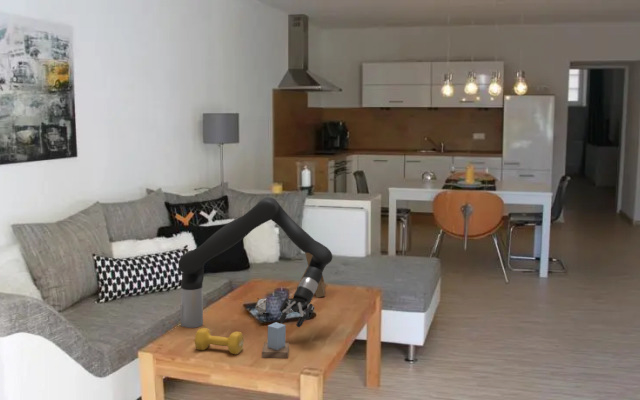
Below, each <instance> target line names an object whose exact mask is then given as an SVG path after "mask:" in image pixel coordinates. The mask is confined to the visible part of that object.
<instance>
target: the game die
mask: <svg viewBox="0 0 640 400" xmlns="http://www.w3.org/2000/svg"><path fill="white" fill-rule="evenodd" d="M266 299H267V298H259V297H257V302H256V304H255V306H253V308H254V309H255V310H256V311H257V313H258V315H259V314H260V315H264V314H263V313H265V312H266Z"/></svg>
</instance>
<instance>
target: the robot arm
mask: <svg viewBox="0 0 640 400" xmlns="http://www.w3.org/2000/svg"><path fill="white" fill-rule="evenodd" d="M269 221H272V222H273V223H275V224H276V225H277V226H278V227H279V228H280V229H281V230H282V231H283V232H284V234H285V235H286V236H287V237H288V239H289V240H290V241H291V242H292V243H293V244H294V245H295V246H296V247H298V249H299V250H301V251H302V252H303V253H310V254H312V255H313V257H312V259H311V261H310V264H309V267H308V266H307V267H308V269H307V268H306V269H307V271H306V270H305V271H306V273H305V272H304V273H305V275H304V277H303V279H302V280H301V279H300V280H301V282H300V281H299V282H300V284H299V283H298V284H299V286H298V288H297V287H296V290H295V292H294V293H293V297H292V299H289V298H285V299H284V300H283V302H282V304H281V306H280V308H279V311H280V312H281V314H280V317H279V320H278V321H279V322H280V324H284V322H285V321H286V319H287V316H288V315H289V314H292V313H298V314H299V316H300V317H299V318H298V319H297V321H296V324H295V325H296V327H297V328H301V327H302V326H303V325H304V324H303V323H304V321H306V320H310V319H311V316H312V315H313V312H314V310H315V306H314V305H313V304H312V303H311V302H312V300H313V298H314V295H315V292H316V290H317V287H318V284H319V282H320V280H321V278H322V275H323V272H324V270H325V268H326V266H327V265H329V264H330V263H331V262H332V261H333V254H332V252H331V250H330V249H329V248H328V247H327V246H325V245H324V244H323V243H321V242H318V241H317V240H315V239H314V238H313V237H312V236H311V235H309V233H308V232H306V230H305V229H303V228H302V227H301V226H300V225H299V224H298V223H296V221H295V220H294V219H293V218H292V217H291V216H290V215H289V214H288V213H287V212H286V211H285V210H284V208H283V207H282V206H281V204H280V203H279V201H277V200H276V199H275V198H273V197H271V196H269V197H264V198H262V199H261V200H259V202H257V204H255V205H254V206H253V207H252V208H251V209H250V210H249V211H247V212H246V213H245V214H244V215H242V216H240V217H238V218H236V219H234V220H232V221H230V222H228V223H227V224H225V225H223V226H222V227H221V228H219V229H218V230H216V232H214V233H213V234H212V235H211V236H210V237H208V238H207V239H206V240H205V241H204V242H202V244H201V245H199V246H198V247H196V248H194V249H191V250H188V251H187V252H185V253H183V254H182V256H181V257H180V258H179V260H178V263H177V264H178V269H179V271H180V272H181V273H182V278H181V282H180V288H181V289H180V294H181V295H180V296H181V301H180V302H181V304H180V327H184V328H188V329H190V328H191V329H192V328H193V329H194V328H199V327H200V328H201V327H202V326H203V325H204V313H203V312H204V304H203V303H204V301H203V297H204V296H203V295H204V293H203V282H204V278H205V277H204V274H205V273H204V271H205V264H206V263H207V262H209V261H210V260H212V259H214V258H215V257H217V256H220V255H221V254H222V253H224V252H226V251H227V250H229V249H230V248H232V247H234V246H235V245H236V244H238V243H239V242H240V241H242V240H244V239H245V237H247V236H248V235H249V234H250V233H251V232H252V231H254V229H256V228H258V227H259V226H261V225H263V224H265V223H267V222H269Z"/></svg>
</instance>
